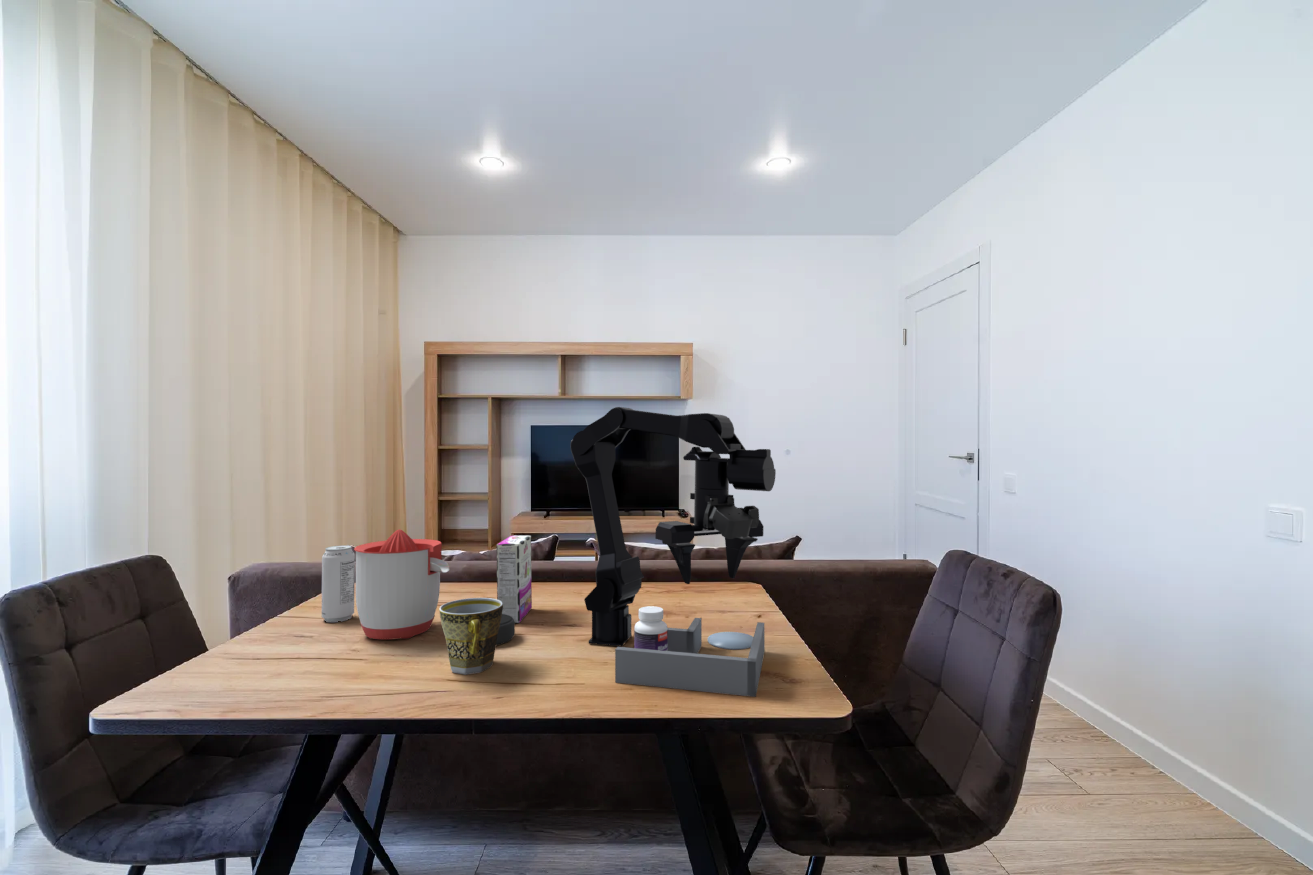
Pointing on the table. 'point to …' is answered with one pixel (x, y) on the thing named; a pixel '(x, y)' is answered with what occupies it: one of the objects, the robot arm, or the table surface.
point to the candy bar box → (514, 576)
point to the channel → (692, 664)
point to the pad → (731, 640)
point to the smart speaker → (506, 629)
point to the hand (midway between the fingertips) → (710, 580)
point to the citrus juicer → (398, 585)
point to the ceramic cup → (471, 633)
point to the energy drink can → (338, 583)
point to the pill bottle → (651, 629)
